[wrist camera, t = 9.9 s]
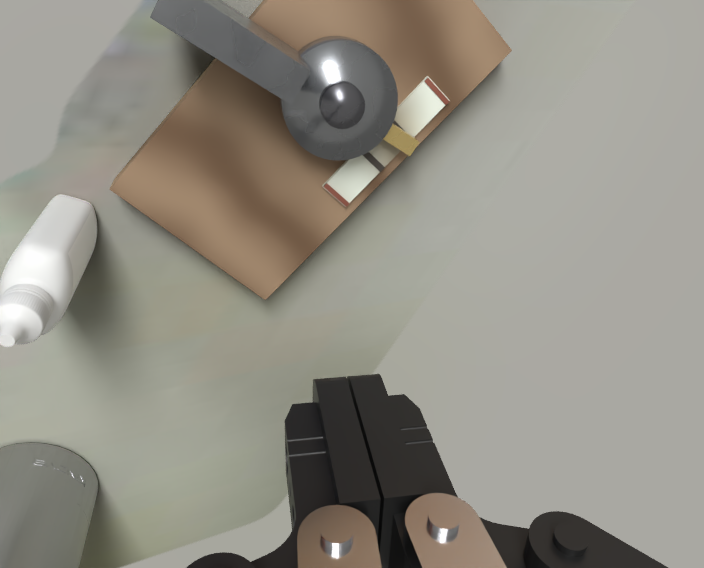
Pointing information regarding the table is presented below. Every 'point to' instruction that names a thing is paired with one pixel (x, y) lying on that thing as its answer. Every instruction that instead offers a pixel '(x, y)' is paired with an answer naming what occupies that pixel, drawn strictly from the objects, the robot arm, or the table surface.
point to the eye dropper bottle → (46, 270)
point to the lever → (301, 78)
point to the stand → (283, 150)
